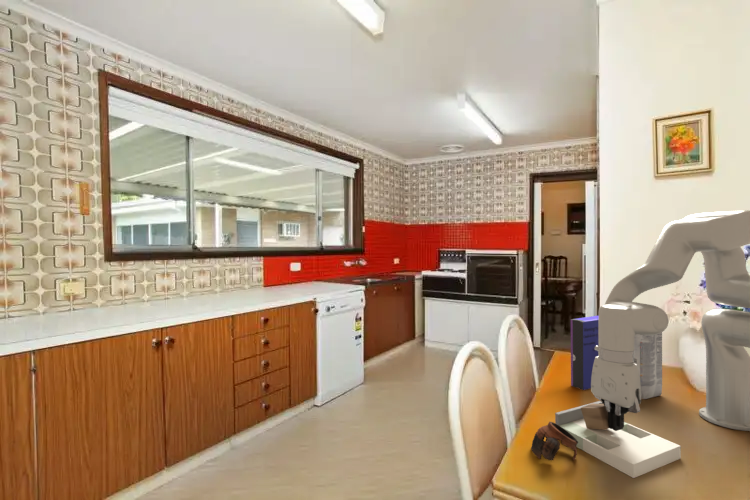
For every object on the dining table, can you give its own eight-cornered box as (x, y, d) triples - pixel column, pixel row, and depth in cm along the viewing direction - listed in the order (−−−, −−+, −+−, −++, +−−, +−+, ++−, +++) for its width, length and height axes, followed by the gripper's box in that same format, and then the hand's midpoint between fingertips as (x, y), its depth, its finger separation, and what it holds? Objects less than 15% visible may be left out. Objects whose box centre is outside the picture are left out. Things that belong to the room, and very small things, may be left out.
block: (598, 423, 99) (591, 403, 100) (616, 424, 95) (609, 403, 96) (586, 428, 96) (580, 407, 98) (605, 429, 92) (598, 408, 94)
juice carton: (666, 396, 123) (666, 314, 122) (645, 401, 119) (645, 317, 119) (638, 386, 131) (638, 310, 131) (618, 391, 127) (618, 312, 127)
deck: (680, 458, 88) (680, 433, 88) (633, 478, 81) (633, 450, 81) (599, 421, 106) (599, 400, 106) (555, 435, 99) (555, 412, 99)
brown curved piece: (530, 442, 97) (546, 415, 96) (566, 470, 92) (583, 441, 91) (523, 452, 87) (541, 422, 86) (563, 484, 81) (583, 452, 81)
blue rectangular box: (602, 377, 140) (602, 314, 140) (615, 382, 136) (615, 316, 136) (571, 385, 133) (570, 318, 133) (583, 390, 129) (583, 321, 128)
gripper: (578, 349, 98) (578, 418, 98) (638, 366, 84) (638, 446, 84) (597, 346, 101) (597, 413, 101) (658, 361, 87) (658, 439, 87)
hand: (615, 428), depth 93 cm, fingers closed
